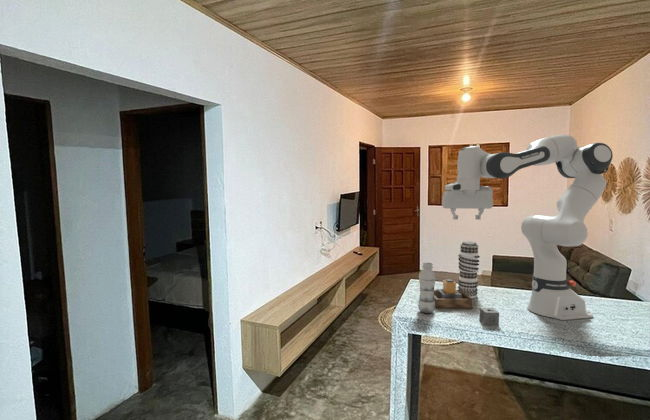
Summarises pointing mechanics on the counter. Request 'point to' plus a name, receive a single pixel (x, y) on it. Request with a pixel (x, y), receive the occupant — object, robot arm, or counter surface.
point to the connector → (449, 286)
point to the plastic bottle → (427, 289)
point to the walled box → (452, 300)
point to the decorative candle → (468, 268)
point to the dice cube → (489, 316)
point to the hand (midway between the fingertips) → (466, 219)
